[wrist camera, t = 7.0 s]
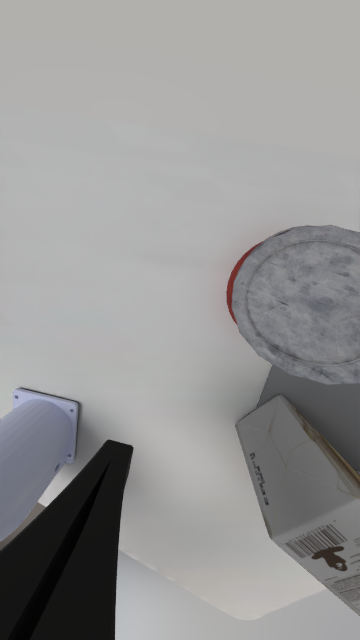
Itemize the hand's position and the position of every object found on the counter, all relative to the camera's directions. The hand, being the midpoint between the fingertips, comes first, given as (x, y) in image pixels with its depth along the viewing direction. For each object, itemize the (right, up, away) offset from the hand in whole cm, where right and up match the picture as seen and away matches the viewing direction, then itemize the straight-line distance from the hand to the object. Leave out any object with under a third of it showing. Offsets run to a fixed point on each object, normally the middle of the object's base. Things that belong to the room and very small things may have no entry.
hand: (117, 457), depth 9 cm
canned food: (+12, +10, +8) cm, 18 cm away
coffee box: (+11, -3, +5) cm, 13 cm away
